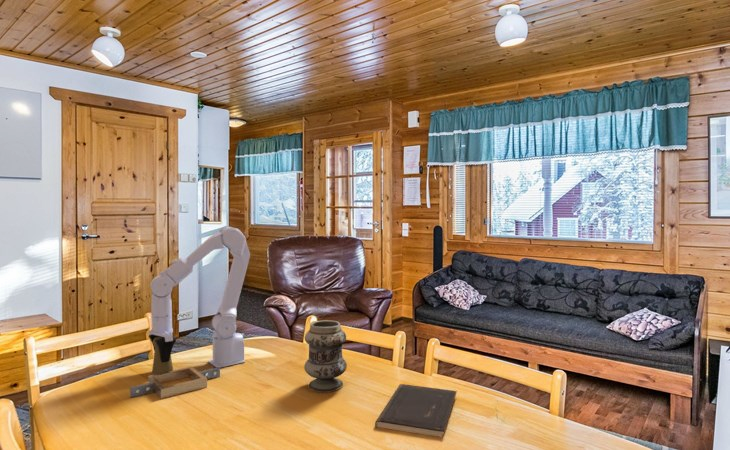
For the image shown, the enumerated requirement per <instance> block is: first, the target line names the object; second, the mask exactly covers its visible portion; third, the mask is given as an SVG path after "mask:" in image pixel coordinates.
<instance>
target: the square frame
mask: <svg viewBox="0 0 730 450" xmlns="http://www.w3.org/2000/svg"><path fill="white" fill-rule="evenodd" d="M219 377H221V368H219V367H217V368H216V367H214V368H208V369H204V370H199V371H198V370H197V369H196V368H194V367H193V366H187V367H183V368H179V369H173V371H168V372H164V373H159V374H154V375H153V374H151V375H147V383H142V384H137V385H132V386H130V387H129V397H130V398H136V397H139V396H143V395H148V394H152V393H153V394H154V393H155V394H156V395H157V396H158V397H159V398H160V399H161V400H163V399H165V398H169V397H173V396H178V395H182V394H185V393H190V392H195V391H198V390H202V389H205V388H208V380H211V379H214V378H215V379H216V378H219ZM185 378H190V379H191V380H187V381H184V382H179V383H175V384H170V385H167V386H164V385H163V383H168V382H173V381H175V380H180V379H185Z"/></svg>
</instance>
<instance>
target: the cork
mask: <svg viewBox="0 0 730 450" xmlns="http://www.w3.org/2000/svg"><path fill="white" fill-rule="evenodd" d="M158 339H162V336H158V337H156V338H154V340H153V344H152V347H153V346H154V347H153V349H154V348H155V352H154V355H153V362H152V369H151V370H152V371H151V375H154V374H159V373H164V372H168V371H173V370H174V366H173V360H172V354H171V355H170V359H169V361H168V362H163V363H162V362H161V359H160V353H159V349H158V346H157V344H156V342H155V340H158Z"/></svg>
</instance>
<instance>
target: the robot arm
mask: <svg viewBox="0 0 730 450" xmlns="http://www.w3.org/2000/svg"><path fill="white" fill-rule="evenodd" d="M225 247H226V248H227V249H228V252H230V254H231V255H232V257H233V259H232V263H231V266H230V270H229V273H228V277H227V282H226V286H225V289H224V292H223V296H222V299H221V300H222V301H221V304H220V305H219V307H218V308H217V312H216V314H215V315H214V316H213V317H212V319H211V325H212V328H213V329H214V331H213V333H212V335H211V336H212V358H211V359H209V360H208V363H210V365H212V366H213V367H214V368H217V367H219V368H220V369H221V368H225V367H228V366H233V365H238V364H242V363H245V362H246V360H245V341H244V340H245V339H244V336H243V335H242V334H241V333H239V332H237V333H236V331H237V327H238V326H237V321H236V320H237V314H238V313H237V312H238V311H237V307H238V303H239V300H240V296H241V292H242V289H243V284H244V282H245V277H246V273H247V271H248V270H247V269H248V266H249V262H250V259H251V253H250V249H249V245H248V243H247V238H246V236H245V235H244V234H243V232H242V231H241V230H240V229H239V228H236V227H232V226H224V227H222V228H221V229H220V230H219V231H216V232H214V233H213V234H212V235H210V236H209V237H208V238H207V239H206V240H204V241H203V242H202V244H200V245H199V246H198V247H197V248H196V249H195V250H194V251H192V253H190V254H189V255H188V256H187V257H185V258H183V257H182V258H178V259H173V260H172V262H171V265H169V266H168V267H167V268H166V269H165V270H164V271H163V270H161V271H160V272H159V275H156V276H155V277H154V278H152V280H151V282H150V285H149V288H150V290H151V298H150V299H151V302H150V303H151V304H150V306H151V307H150V308H151V309H150V310H151V315H150V316H151V318H150V319H151V330H148V331H147V335H148V338H149V340H150V341H151V344H152V347H153V351H154V352H155V348H154V346H153V340H154V338H156V337H158V336H162V339H158V340H155V342H156V344H157V346H158V349H159V353H160V359H161V362H162V363H163V362H168V361H169V359H170V355H171V356H172V354H171V353H172V351H173V348H174V345H175V343H176V341H177V339H176V337H174V336H173V333H174V329H173V312H172V311H173V309H172V306H173V305H172V304H173V303H172V302H173V301H172V298H171V295H172V294H171V293H172V291H173V288H174V287H176V286H177V285H179V284H180V283H181V282H182V281H184V279H186V278H187V277H188V276H189V275H191V273H193V268H194V266H195V265H196V264H198V263H199V262H200V261H201V260H202V259H204V258H205V257H206V256H207V255H209V254H210V253H212V252H213V251H214V250H220V249H221V250H222V249H225Z"/></svg>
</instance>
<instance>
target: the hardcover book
mask: <svg viewBox="0 0 730 450" xmlns="http://www.w3.org/2000/svg"><path fill="white" fill-rule="evenodd" d="M457 392H458V391H457V390H451V389H443V388H435V387H429V386H420V385H413V384H412V385H411V384H405V383H404V384H403V383H400V384H399V385H398V387H397V388H396V389H395V391H394V393H393V394H392V396H391V397H390V399H389V400H388V402H387V403H386V405H385V406H384V408H383V410H382V412H381V413H380V414H379V416H378V417H377V419H376V420H375V424H374V426H375V428H382V429H389V430H395V431H402V432H408V433H413V434H420V435H426V436H431V435H434V436H433V437H437V436H442V437H443V436H444V433H445V429H446V427H447V424H448V420H449V417H450V414H451V412H452V409H451V408H453V405H454V402H455V399H456V395H457ZM450 411H451V412H450Z"/></svg>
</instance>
